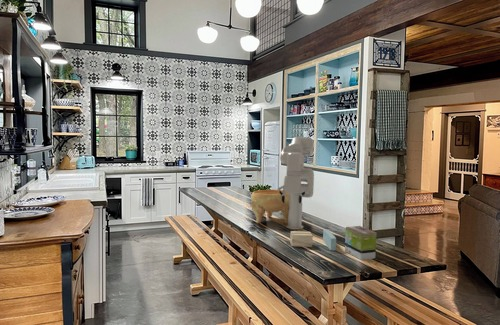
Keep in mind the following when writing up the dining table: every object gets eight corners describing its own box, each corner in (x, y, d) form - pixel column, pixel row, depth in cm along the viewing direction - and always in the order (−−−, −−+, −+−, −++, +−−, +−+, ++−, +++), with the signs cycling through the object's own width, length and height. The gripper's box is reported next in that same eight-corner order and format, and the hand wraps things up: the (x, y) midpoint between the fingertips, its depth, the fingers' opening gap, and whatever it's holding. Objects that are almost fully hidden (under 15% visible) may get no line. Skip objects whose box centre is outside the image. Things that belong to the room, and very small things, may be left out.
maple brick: (290, 242, 225) (290, 231, 224) (309, 243, 225) (310, 231, 224) (291, 246, 217) (292, 234, 216) (312, 247, 217) (312, 235, 216)
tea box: (343, 251, 210) (345, 226, 209) (358, 250, 213) (359, 225, 212) (360, 260, 196) (362, 233, 195) (375, 258, 199) (377, 231, 198)
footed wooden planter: (294, 217, 296) (295, 188, 294) (295, 227, 261) (297, 195, 260) (252, 214, 299) (253, 186, 298) (248, 224, 265) (249, 193, 263)
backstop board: (322, 240, 231) (323, 229, 231) (327, 240, 231) (328, 229, 231) (330, 250, 211) (331, 238, 211) (335, 250, 211) (336, 238, 211)
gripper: (306, 173, 220) (304, 202, 221) (277, 172, 219) (276, 201, 220) (308, 175, 213) (307, 204, 214) (279, 173, 212) (277, 203, 213)
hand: (291, 202), depth 217 cm, fingers open, 9 cm apart
